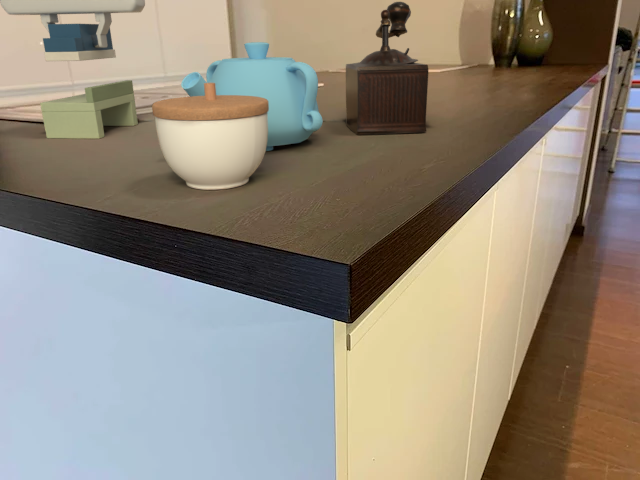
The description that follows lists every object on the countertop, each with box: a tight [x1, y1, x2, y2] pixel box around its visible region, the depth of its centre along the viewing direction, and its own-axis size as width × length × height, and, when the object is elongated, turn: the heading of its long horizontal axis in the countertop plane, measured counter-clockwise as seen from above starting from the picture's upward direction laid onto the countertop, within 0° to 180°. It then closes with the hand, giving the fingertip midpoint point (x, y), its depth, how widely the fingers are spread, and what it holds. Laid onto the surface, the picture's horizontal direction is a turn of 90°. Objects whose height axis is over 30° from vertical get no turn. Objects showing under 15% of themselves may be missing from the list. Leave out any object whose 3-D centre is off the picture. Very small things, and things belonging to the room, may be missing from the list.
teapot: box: [180, 41, 324, 152], centre depth 68 cm, size 20×20×13 cm
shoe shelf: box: [39, 79, 139, 140], centre depth 82 cm, size 8×13×7 cm, turn 174°
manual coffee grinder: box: [345, 1, 429, 135], centre depth 81 cm, size 16×11×18 cm
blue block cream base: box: [42, 23, 117, 62], centre depth 79 cm, size 11×5×5 cm, turn 174°
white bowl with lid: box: [151, 83, 269, 191], centre depth 51 cm, size 11×11×9 cm
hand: (80, 47), depth 79 cm, fingers closed on blue block cream base, 4 cm apart
